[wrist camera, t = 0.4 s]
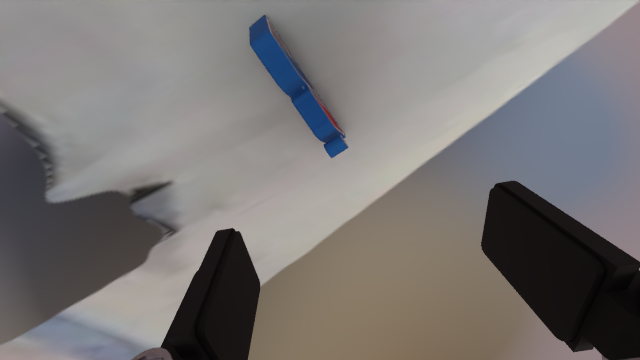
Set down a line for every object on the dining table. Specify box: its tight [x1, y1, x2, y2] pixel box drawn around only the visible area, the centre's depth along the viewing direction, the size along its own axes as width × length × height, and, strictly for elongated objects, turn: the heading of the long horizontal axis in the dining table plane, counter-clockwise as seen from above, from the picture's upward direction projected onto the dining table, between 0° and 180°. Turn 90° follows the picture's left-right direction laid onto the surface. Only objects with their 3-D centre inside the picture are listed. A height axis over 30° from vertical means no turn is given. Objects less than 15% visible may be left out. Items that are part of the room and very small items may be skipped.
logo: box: [249, 15, 348, 158], centre depth 32 cm, size 18×2×10 cm, turn 34°
